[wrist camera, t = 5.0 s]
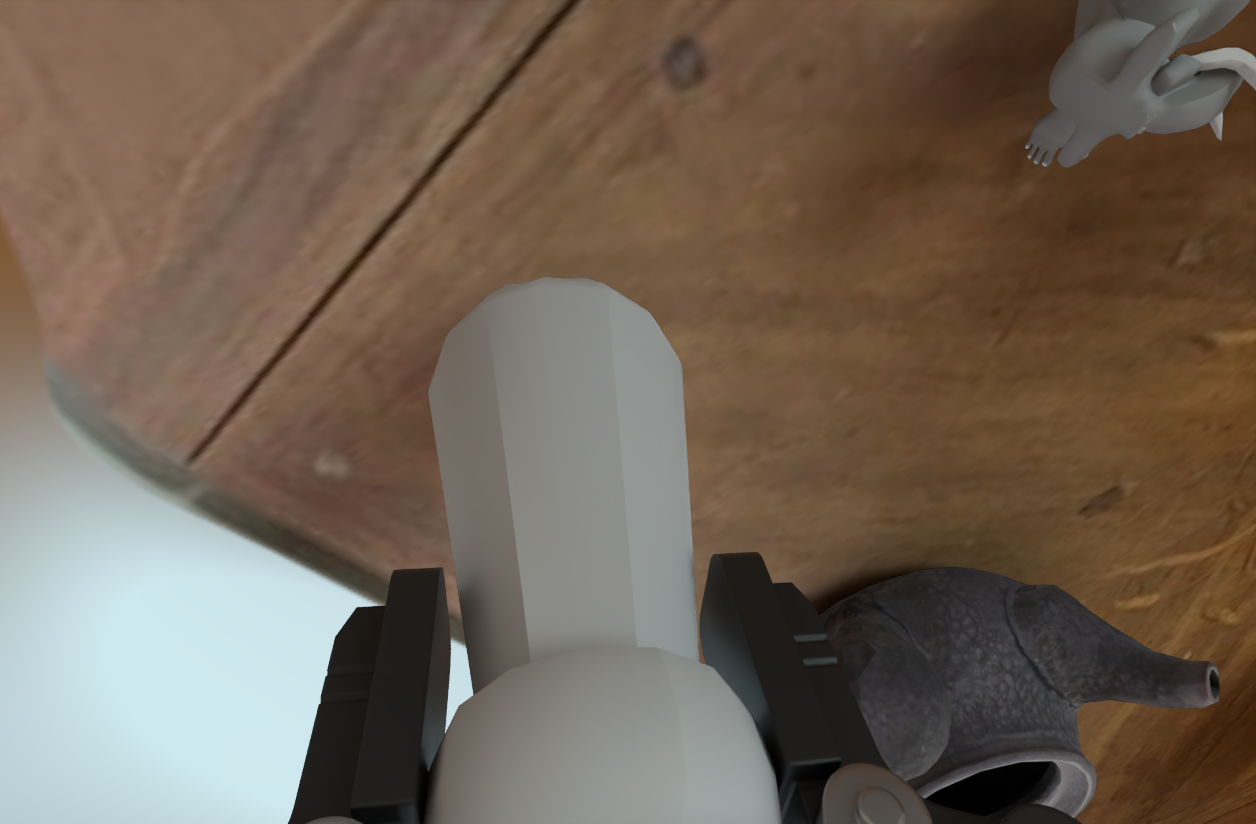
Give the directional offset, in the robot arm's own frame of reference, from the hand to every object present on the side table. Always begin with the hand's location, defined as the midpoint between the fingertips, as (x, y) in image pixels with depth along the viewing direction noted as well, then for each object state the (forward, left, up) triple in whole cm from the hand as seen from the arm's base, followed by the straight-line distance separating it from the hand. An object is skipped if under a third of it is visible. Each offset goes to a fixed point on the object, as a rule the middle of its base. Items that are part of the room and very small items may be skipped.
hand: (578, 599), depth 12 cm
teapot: (+14, -13, -11) cm, 22 cm away
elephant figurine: (+13, +10, -11) cm, 19 cm away
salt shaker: (0, 0, -8) cm, 8 cm away
